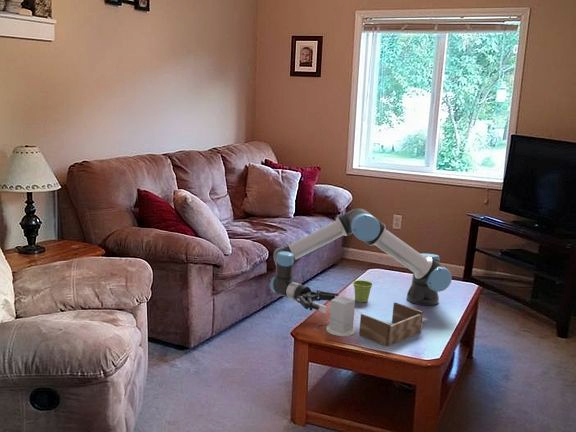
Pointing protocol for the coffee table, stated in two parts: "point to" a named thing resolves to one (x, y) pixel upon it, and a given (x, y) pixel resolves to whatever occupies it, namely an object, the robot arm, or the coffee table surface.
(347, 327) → the supplement box
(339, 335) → the cream coaster
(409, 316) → the walnut cubby
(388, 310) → the coffee table surface
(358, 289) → the plant pot
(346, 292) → the coffee table surface
